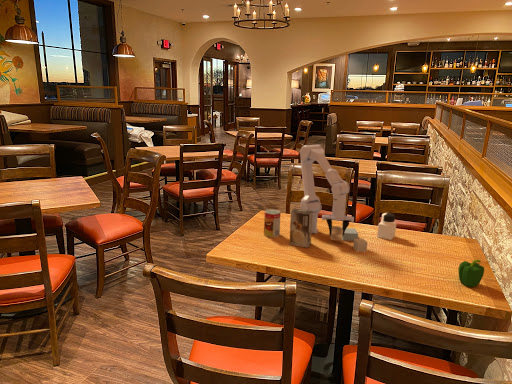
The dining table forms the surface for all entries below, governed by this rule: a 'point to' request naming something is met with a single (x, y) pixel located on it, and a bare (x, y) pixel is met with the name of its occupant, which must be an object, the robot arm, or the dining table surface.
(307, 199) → the robot arm
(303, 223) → the coffee box
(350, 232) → the slate block
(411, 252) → the dining table surface
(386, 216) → the medicine bottle
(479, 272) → the bell pepper
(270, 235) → the canned food
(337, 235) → the maple cube
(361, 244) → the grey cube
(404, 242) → the dining table surface
